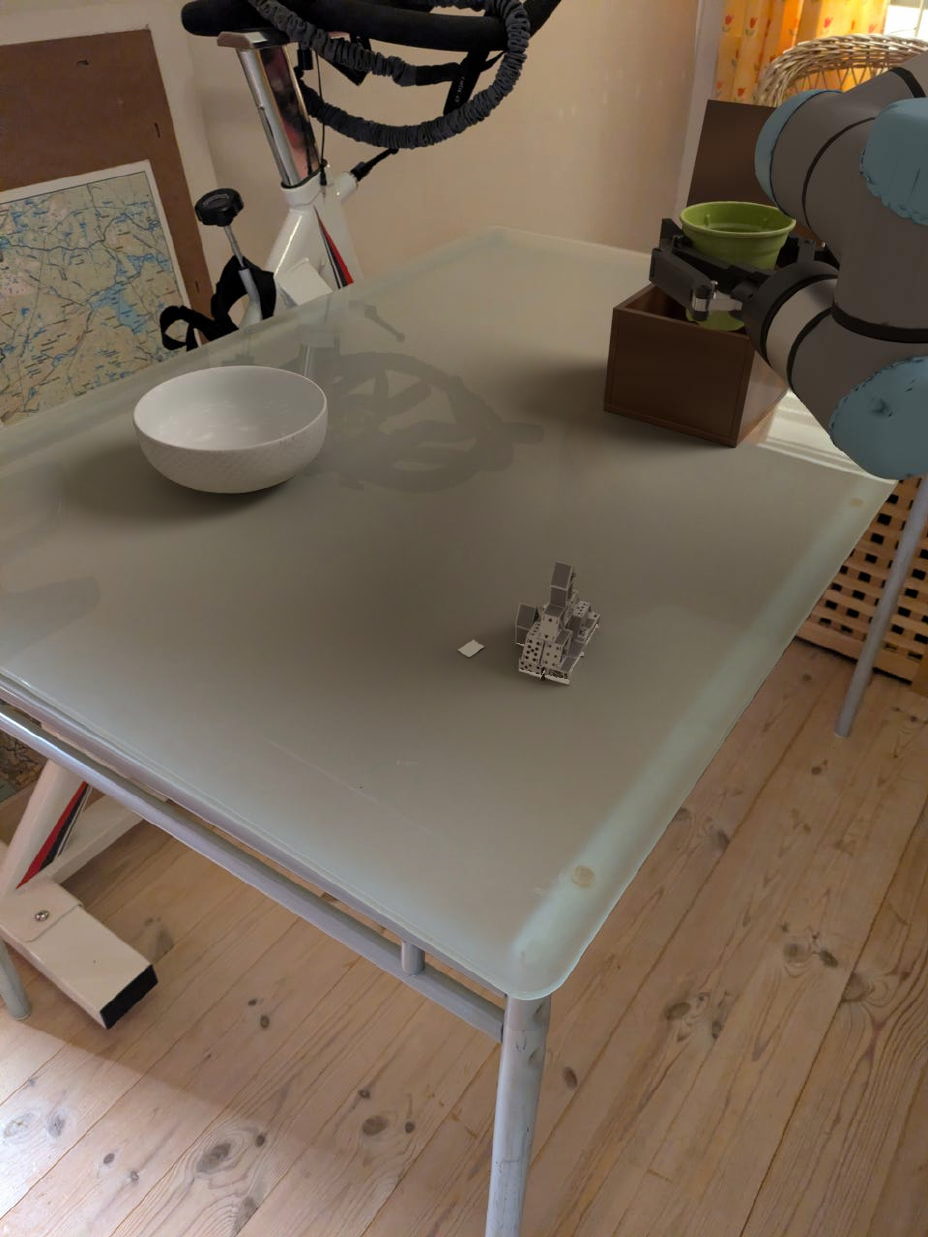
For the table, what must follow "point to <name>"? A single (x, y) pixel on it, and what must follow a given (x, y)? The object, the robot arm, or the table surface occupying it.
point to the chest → (685, 371)
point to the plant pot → (735, 240)
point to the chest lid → (732, 158)
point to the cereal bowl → (232, 427)
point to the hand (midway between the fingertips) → (714, 232)
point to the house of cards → (555, 627)
